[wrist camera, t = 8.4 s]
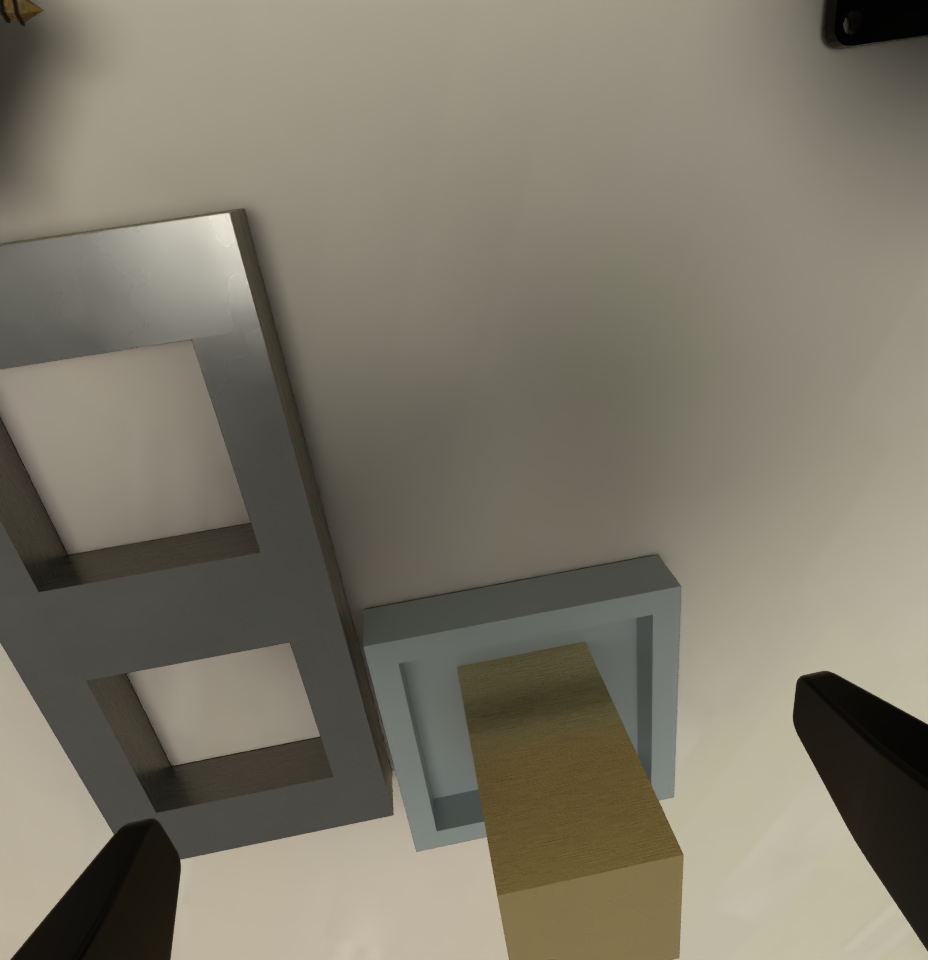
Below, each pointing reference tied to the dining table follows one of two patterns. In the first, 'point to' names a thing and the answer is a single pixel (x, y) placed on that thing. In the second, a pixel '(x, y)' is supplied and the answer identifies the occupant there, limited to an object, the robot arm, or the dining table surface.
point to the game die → (18, 10)
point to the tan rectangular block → (569, 813)
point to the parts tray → (511, 631)
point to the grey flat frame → (183, 549)
